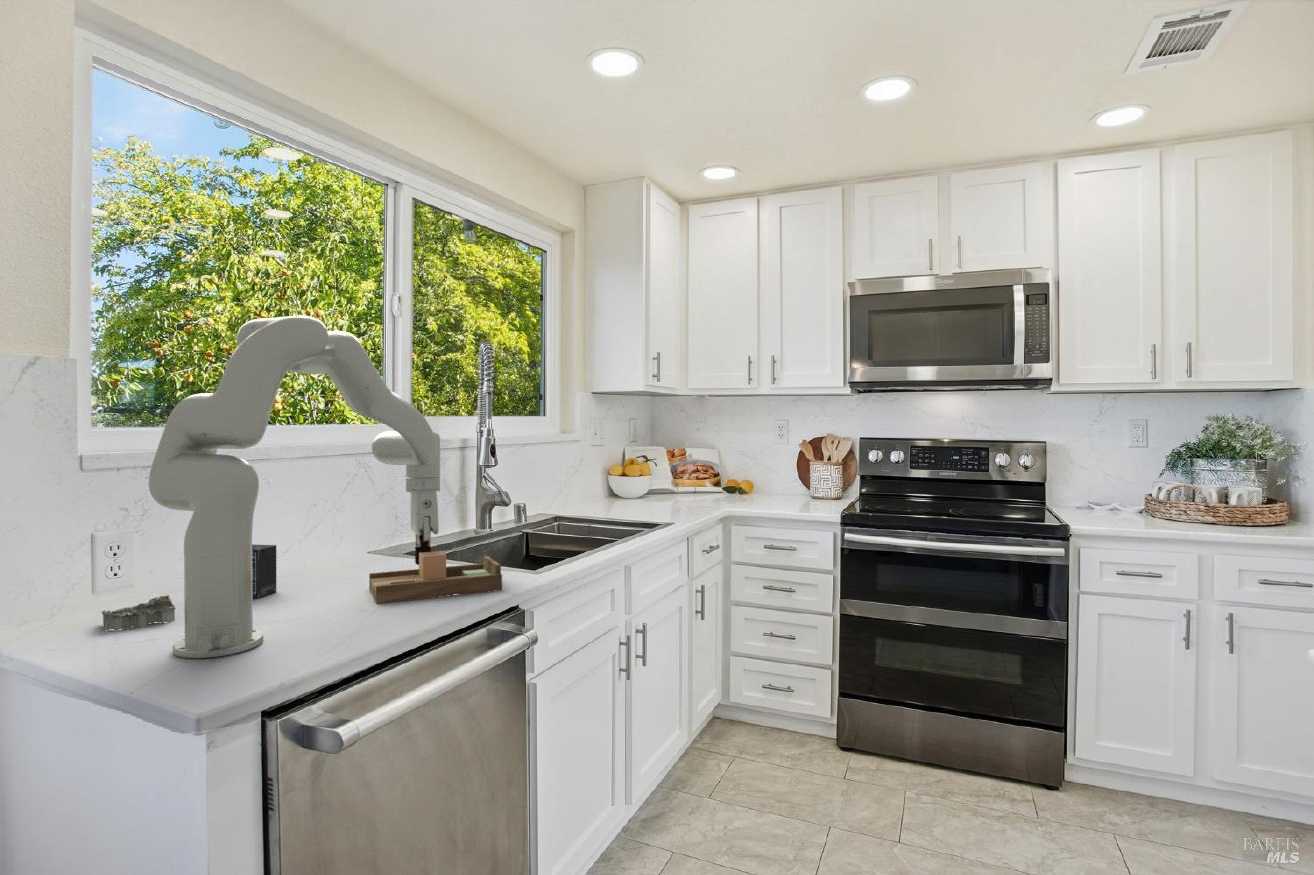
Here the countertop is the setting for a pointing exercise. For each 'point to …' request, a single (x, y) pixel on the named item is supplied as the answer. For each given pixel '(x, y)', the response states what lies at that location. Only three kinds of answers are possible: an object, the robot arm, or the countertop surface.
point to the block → (432, 565)
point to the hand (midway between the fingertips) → (422, 563)
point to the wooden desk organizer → (436, 582)
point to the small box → (263, 570)
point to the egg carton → (140, 614)
